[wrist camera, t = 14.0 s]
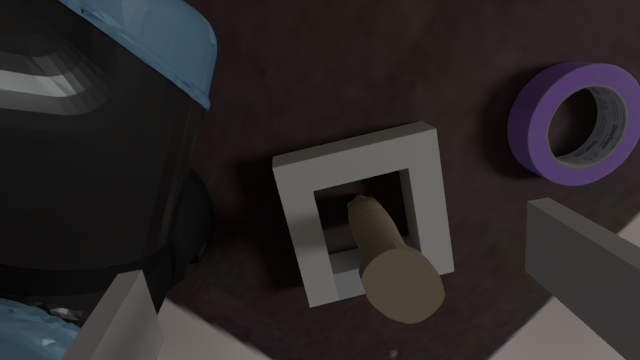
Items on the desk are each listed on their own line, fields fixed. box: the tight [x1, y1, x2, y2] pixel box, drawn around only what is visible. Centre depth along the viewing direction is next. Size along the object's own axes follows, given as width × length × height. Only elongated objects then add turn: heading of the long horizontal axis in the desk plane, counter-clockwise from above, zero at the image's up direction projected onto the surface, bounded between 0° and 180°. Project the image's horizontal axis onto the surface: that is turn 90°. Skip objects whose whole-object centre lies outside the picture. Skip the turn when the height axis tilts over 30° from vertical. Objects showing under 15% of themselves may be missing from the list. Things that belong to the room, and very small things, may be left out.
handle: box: [347, 194, 445, 324], centre depth 35 cm, size 5×6×15 cm
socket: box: [272, 121, 454, 307], centre depth 40 cm, size 15×15×4 cm
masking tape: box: [507, 62, 640, 186], centre depth 40 cm, size 12×12×4 cm
